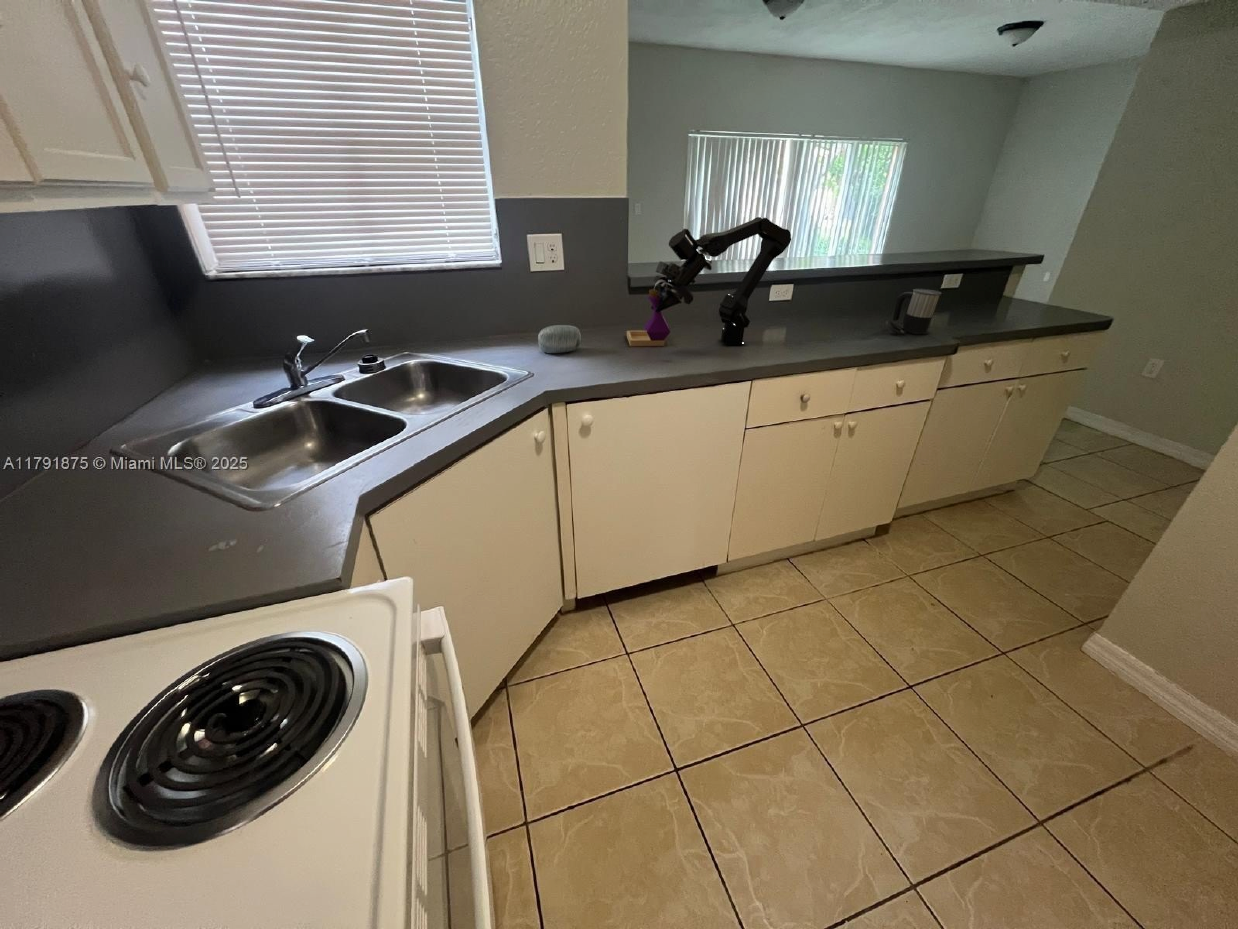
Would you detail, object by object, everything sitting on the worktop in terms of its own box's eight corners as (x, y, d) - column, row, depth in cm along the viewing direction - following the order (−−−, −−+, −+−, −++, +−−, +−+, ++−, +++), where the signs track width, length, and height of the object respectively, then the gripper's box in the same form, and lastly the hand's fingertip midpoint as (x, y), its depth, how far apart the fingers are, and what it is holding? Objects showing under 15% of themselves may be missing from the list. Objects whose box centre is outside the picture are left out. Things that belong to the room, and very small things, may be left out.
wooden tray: (658, 336, 173) (659, 330, 172) (664, 345, 163) (664, 340, 162) (626, 336, 172) (626, 330, 171) (630, 346, 162) (630, 340, 161)
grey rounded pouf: (579, 334, 161) (574, 311, 152) (586, 355, 156) (580, 332, 148) (540, 345, 161) (532, 323, 152) (545, 366, 156) (537, 345, 147)
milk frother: (928, 330, 186) (942, 290, 179) (925, 340, 175) (940, 297, 167) (888, 324, 193) (899, 285, 185) (882, 333, 181) (894, 292, 174)
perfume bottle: (646, 342, 153) (648, 282, 143) (644, 334, 159) (646, 277, 149) (669, 342, 153) (674, 282, 143) (666, 334, 159) (670, 277, 149)
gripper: (660, 247, 151) (626, 286, 154) (687, 255, 136) (649, 298, 139) (681, 272, 158) (648, 309, 160) (709, 283, 143) (672, 324, 145)
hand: (654, 310), depth 151 cm, fingers closed on perfume bottle, 3 cm apart
